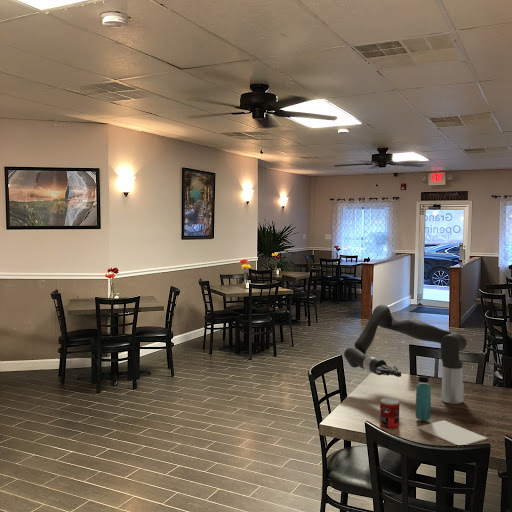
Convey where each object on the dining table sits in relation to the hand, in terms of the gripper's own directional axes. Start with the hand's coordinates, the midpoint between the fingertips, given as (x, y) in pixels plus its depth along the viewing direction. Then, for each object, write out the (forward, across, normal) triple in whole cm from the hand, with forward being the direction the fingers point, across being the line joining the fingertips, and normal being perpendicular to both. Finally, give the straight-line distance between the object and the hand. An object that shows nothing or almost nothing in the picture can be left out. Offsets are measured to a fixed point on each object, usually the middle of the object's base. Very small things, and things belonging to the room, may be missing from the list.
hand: (400, 374), depth 243 cm
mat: (+30, -1, -17) cm, 34 cm away
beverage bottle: (+14, -1, -17) cm, 22 cm away
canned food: (+11, +16, -18) cm, 26 cm away
